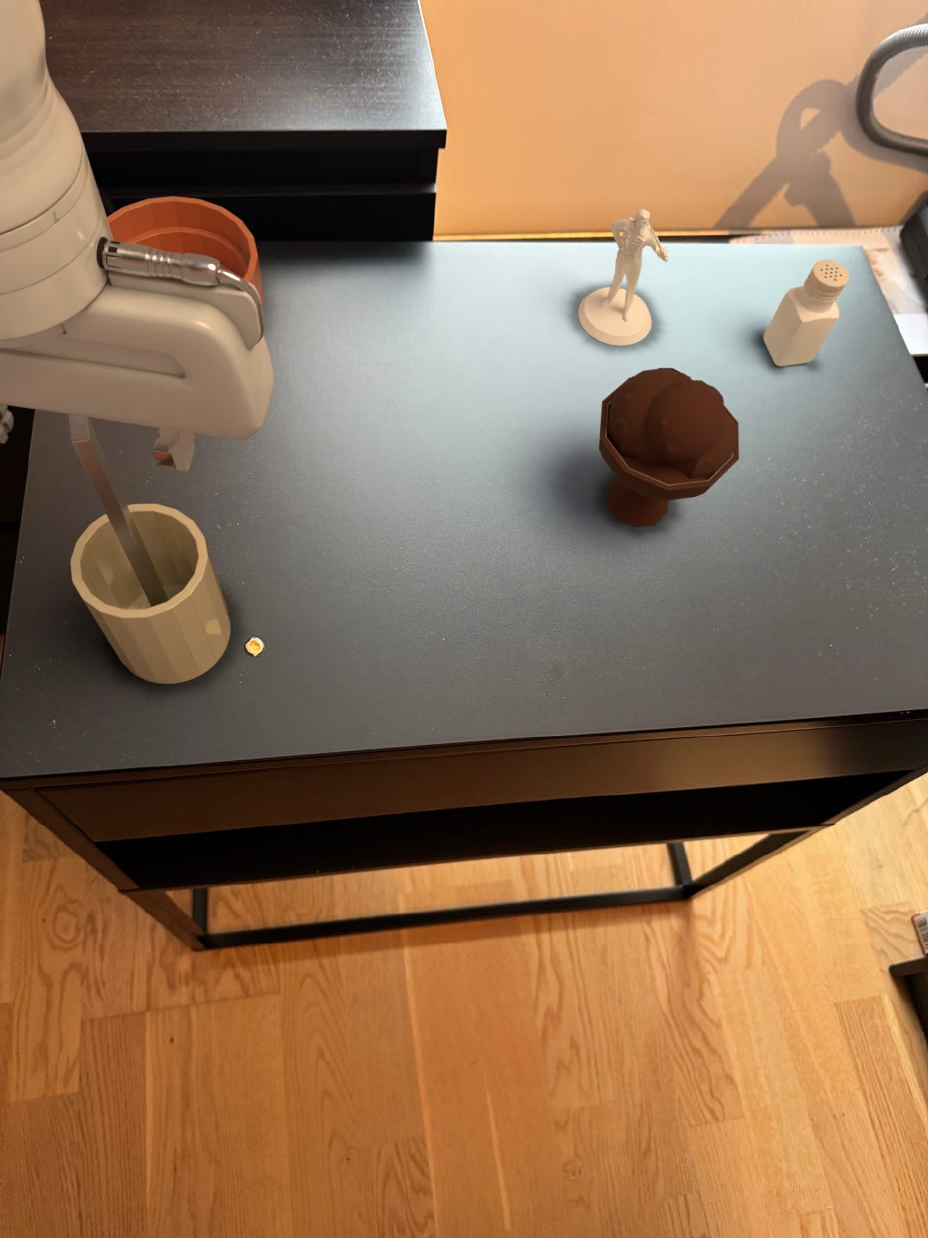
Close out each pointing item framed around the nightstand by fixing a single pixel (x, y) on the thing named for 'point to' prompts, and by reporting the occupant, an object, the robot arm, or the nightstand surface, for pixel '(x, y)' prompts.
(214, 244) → the bowl
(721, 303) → the nightstand surface
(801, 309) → the salt shaker
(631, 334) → the figurine
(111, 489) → the metal stirring rod
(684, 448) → the ice cream bowl
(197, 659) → the crock
